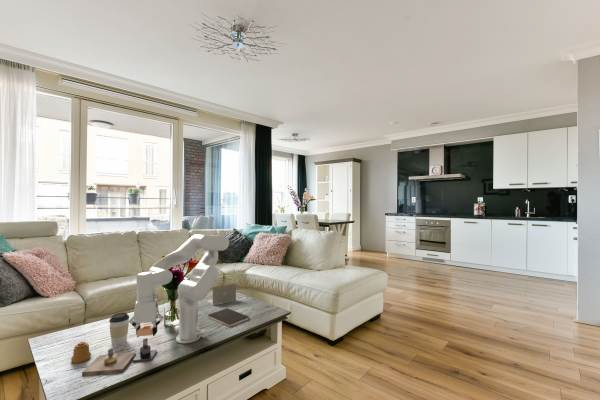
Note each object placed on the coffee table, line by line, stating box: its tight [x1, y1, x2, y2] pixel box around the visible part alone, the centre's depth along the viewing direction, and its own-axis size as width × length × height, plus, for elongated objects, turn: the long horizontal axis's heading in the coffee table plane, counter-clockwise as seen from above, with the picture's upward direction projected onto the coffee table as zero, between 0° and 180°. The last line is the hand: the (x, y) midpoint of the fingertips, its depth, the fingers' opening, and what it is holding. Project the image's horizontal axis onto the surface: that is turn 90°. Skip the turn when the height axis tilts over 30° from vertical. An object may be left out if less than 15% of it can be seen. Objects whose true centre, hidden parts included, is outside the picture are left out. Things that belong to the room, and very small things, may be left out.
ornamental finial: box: [70, 341, 92, 364], centre depth 136 cm, size 8×8×8 cm
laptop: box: [206, 283, 237, 306], centre depth 218 cm, size 18×12×13 cm
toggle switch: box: [81, 347, 137, 377], centre depth 131 cm, size 16×14×8 cm
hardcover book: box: [207, 307, 250, 328], centre depth 184 cm, size 16×23×2 cm
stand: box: [132, 337, 158, 363], centre depth 138 cm, size 8×8×8 cm
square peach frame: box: [136, 323, 153, 337], centre depth 138 cm, size 6×6×2 cm
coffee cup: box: [109, 312, 130, 347], centre depth 152 cm, size 9×9×15 cm
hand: (146, 334), depth 138 cm, fingers closed on square peach frame, 6 cm apart
